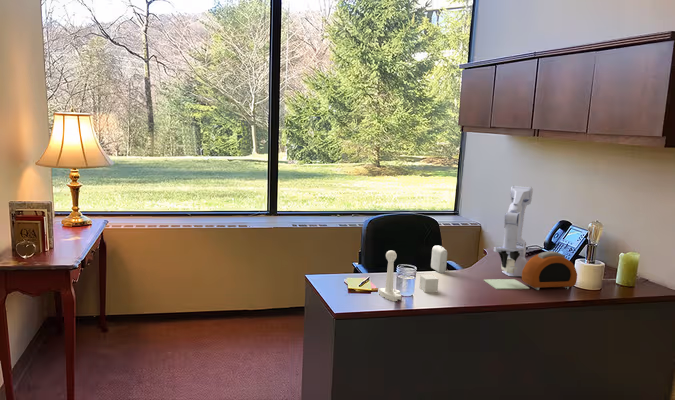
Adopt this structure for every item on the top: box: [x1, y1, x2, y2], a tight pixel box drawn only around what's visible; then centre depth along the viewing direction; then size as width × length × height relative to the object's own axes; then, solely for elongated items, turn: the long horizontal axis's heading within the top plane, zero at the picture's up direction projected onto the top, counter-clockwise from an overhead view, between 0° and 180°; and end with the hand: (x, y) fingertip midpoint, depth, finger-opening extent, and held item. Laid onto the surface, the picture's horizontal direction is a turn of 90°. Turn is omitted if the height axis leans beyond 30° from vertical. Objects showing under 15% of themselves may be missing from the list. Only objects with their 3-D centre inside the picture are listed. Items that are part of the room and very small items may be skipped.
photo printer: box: [430, 245, 448, 274], centre depth 259 cm, size 10×4×12 cm, turn 17°
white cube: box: [419, 274, 439, 293], centre depth 228 cm, size 6×6×6 cm
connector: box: [500, 257, 517, 273], centre depth 239 cm, size 3×11×6 cm, turn 10°
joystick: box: [378, 250, 402, 302], centre depth 216 cm, size 11×8×20 cm
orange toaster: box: [521, 250, 578, 291], centre depth 240 cm, size 23×9×17 cm, turn 103°
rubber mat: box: [483, 278, 530, 290], centre depth 241 cm, size 16×13×1 cm
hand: (507, 267), depth 240 cm, fingers closed on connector, 3 cm apart
